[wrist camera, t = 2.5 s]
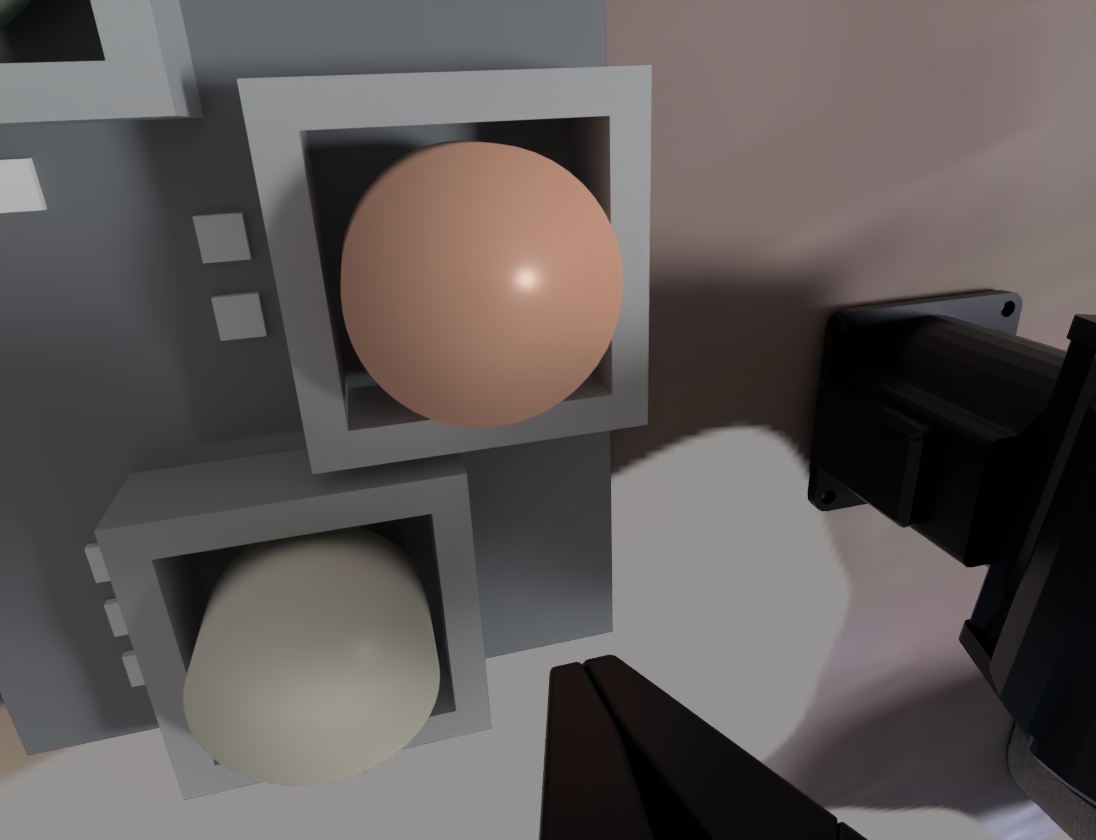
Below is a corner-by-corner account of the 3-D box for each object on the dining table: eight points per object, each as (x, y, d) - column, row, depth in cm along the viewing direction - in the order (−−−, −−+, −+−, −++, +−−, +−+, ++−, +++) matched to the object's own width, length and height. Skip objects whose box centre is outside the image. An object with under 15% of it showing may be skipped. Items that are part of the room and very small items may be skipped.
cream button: (415, 505, 16) (426, 567, 14) (437, 675, 18) (450, 753, 16) (182, 543, 15) (154, 616, 13) (232, 719, 17) (214, 810, 15)
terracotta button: (578, 133, 14) (622, 135, 12) (584, 369, 16) (623, 408, 14) (322, 147, 13) (317, 152, 11) (360, 397, 15) (363, 445, 13)
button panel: (569, -280, 14) (657, -438, 10) (591, 591, 23) (644, 692, 18) (-362, -351, 11) (-764, -622, 7) (57, 697, 19) (-20, 847, 15)
